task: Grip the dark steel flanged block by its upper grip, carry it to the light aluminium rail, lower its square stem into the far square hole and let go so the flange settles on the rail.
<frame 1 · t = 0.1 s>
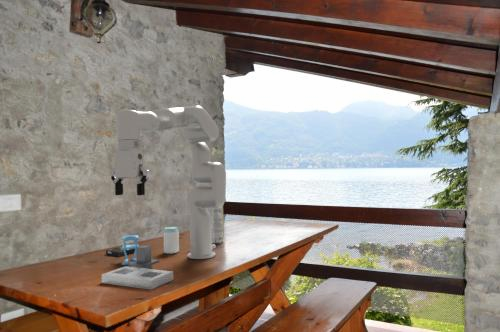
hand: (129, 195, 134), 31 cm above the table, tool pointing down, fingers open, 9 cm apart
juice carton: (214, 242, 207), on the table
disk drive: (125, 254, 187), on the table
can: (171, 253, 184), on the table
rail: (137, 281, 138), on the table
chair: (130, 262, 167), on the table
flanged block: (144, 270, 153), on the table
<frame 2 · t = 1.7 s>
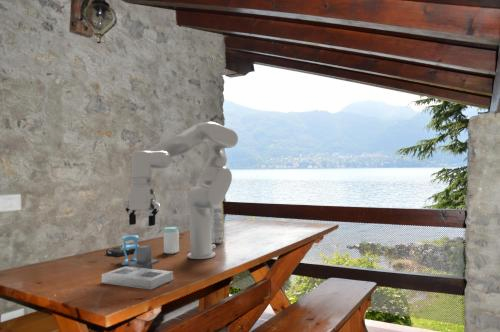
hand: (142, 225, 153), 18 cm above the table, tool pointing down, fingers open, 9 cm apart
nothing on the table moved.
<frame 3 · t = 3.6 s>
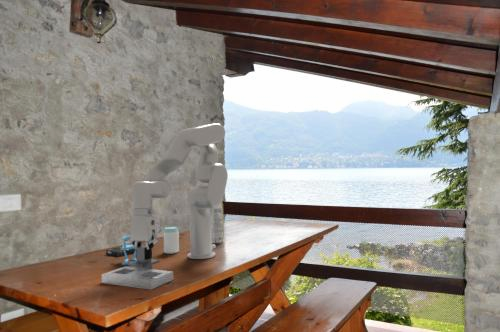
hand: (143, 258, 153), 5 cm above the table, tool pointing down, fingers closed on flanged block, 4 cm apart
flanged block: (144, 270, 153), on the table, touching gripper
everything else where it was.
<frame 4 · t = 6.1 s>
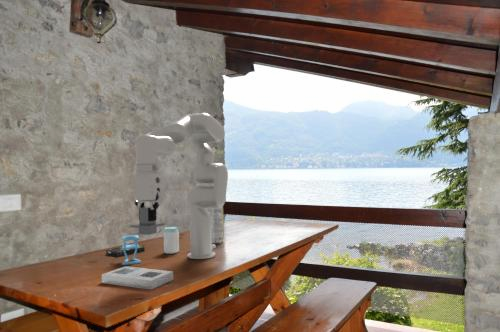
hand: (147, 220, 138), 22 cm above the table, tool pointing down, fingers closed on flanged block, 4 cm apart
flanged block: (147, 233, 138), point 17 cm above the table, touching gripper
everything else where it was.
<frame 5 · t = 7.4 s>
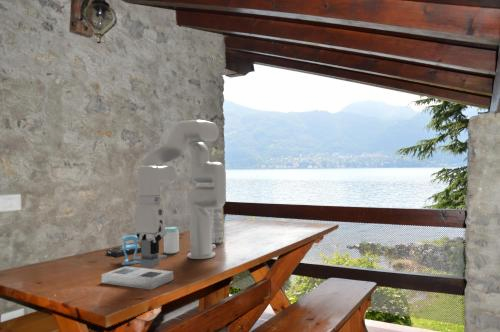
hand: (149, 252, 135), 11 cm above the table, tool pointing down, fingers closed on flanged block, 4 cm apart
flanged block: (149, 266, 135), point 6 cm above the table, touching gripper
everything else where it was.
when the fingers open (6 cm above the table, at t = 8.6 s): flanged block stays where it is, resting on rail.
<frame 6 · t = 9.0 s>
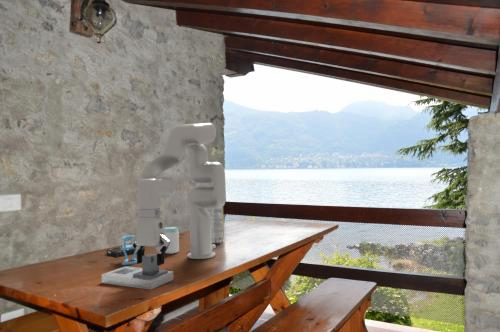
hand: (150, 263, 135), 7 cm above the table, tool pointing down, fingers open, 8 cm apart
flanged block: (150, 281, 135), resting on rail
everything else where it was.
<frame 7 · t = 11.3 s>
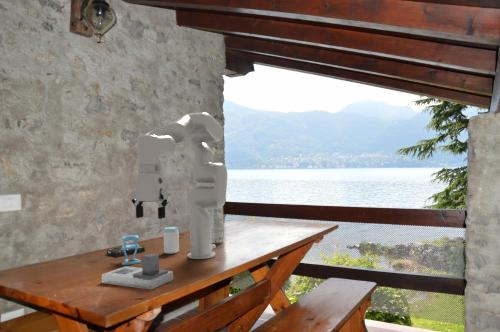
hand: (150, 217, 137), 23 cm above the table, tool pointing down, fingers open, 9 cm apart
nothing on the table moved.
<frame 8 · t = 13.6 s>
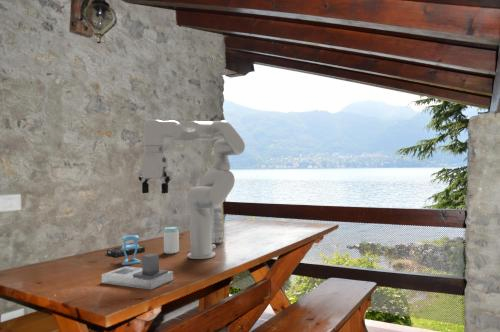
hand: (155, 193, 155), 30 cm above the table, tool pointing down, fingers open, 9 cm apart
nothing on the table moved.
at the end: flanged block 0.0 cm from the target spot on the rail, point 0.4 cm above the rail's base; flanged block tilted 0°; the gripper is holding nothing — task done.
